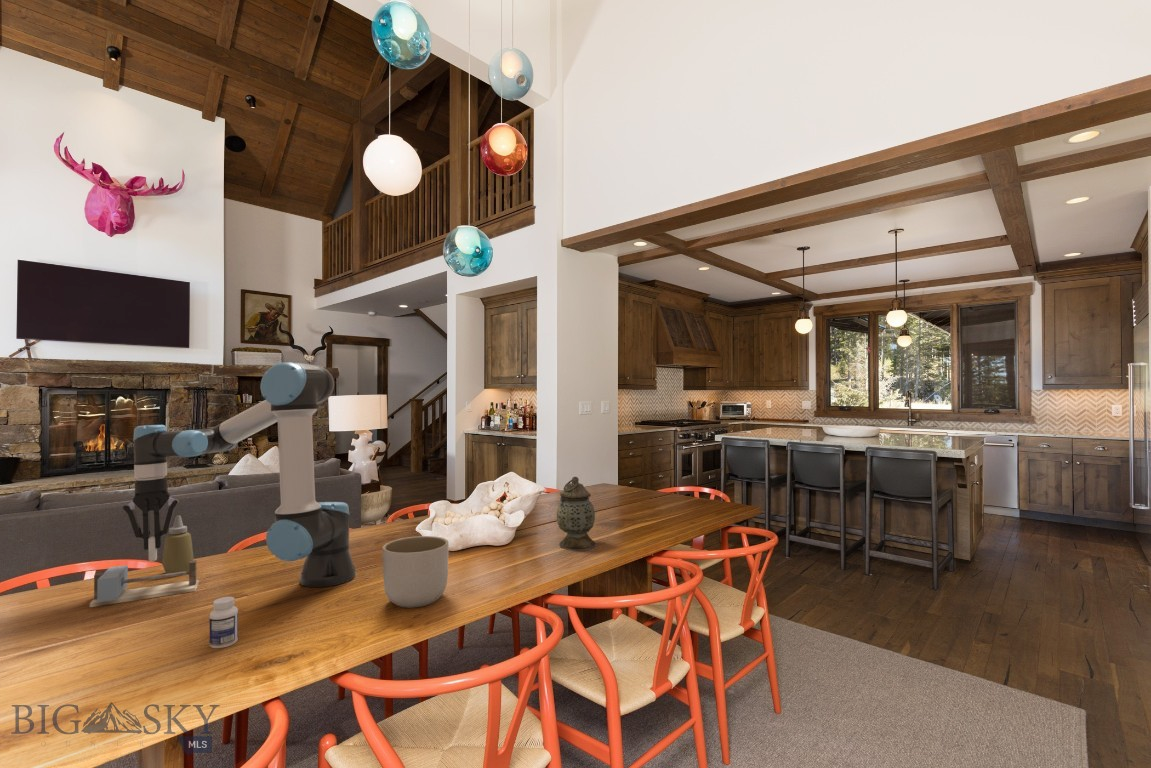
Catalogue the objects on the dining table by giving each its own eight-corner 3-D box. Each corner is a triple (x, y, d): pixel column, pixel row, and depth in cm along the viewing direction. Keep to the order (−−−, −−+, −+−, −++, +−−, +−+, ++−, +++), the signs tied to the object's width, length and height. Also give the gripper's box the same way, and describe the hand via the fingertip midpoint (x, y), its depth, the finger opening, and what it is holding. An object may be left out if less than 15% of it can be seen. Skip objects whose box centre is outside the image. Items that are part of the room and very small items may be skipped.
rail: (198, 582, 162) (198, 557, 162) (195, 591, 155) (195, 564, 155) (98, 597, 150) (98, 570, 151) (89, 607, 143) (89, 578, 144)
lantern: (596, 550, 190) (595, 479, 191) (556, 551, 190) (555, 479, 191) (595, 540, 204) (594, 473, 205) (557, 540, 204) (557, 474, 205)
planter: (388, 618, 134) (387, 556, 134) (378, 596, 149) (378, 540, 149) (456, 605, 141) (455, 547, 142) (440, 585, 157) (440, 533, 157)
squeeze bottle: (176, 578, 166) (177, 519, 167) (155, 576, 168) (155, 518, 168) (200, 569, 174) (200, 513, 175) (179, 568, 176) (179, 512, 176)
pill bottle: (218, 638, 124) (218, 595, 124) (242, 637, 124) (243, 594, 124) (204, 649, 118) (204, 604, 118) (229, 648, 119) (230, 603, 119)
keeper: (127, 586, 155) (127, 565, 155) (116, 599, 145) (116, 577, 145) (109, 588, 153) (109, 567, 153) (97, 602, 143) (97, 579, 143)
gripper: (180, 474, 164) (182, 553, 163) (125, 479, 157) (127, 561, 157) (176, 477, 157) (178, 559, 156) (119, 482, 151) (120, 567, 150)
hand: (152, 559), depth 157 cm, fingers closed
